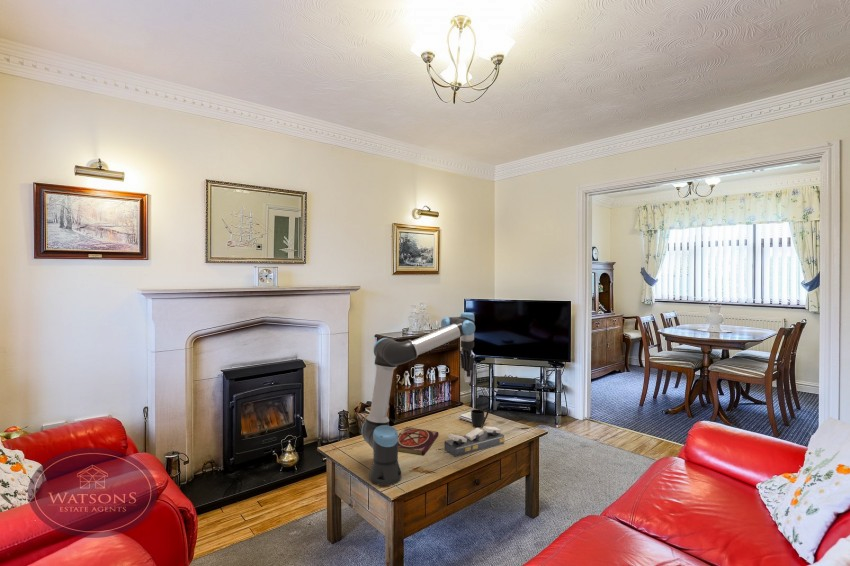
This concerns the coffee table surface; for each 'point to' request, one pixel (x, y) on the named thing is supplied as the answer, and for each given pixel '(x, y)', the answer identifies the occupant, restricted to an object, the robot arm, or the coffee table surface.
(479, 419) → the mug
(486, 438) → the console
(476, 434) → the white rectangular block
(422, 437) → the book
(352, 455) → the coffee table surface
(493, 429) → the block
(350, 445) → the coffee table surface
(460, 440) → the block
